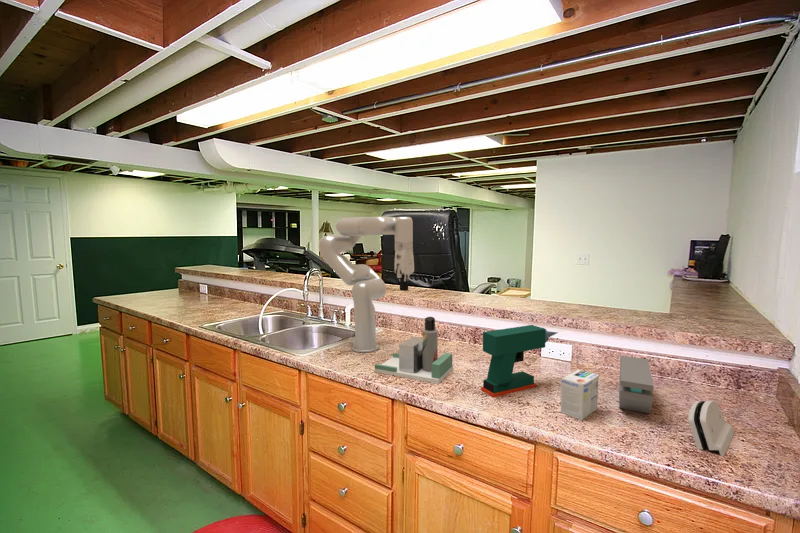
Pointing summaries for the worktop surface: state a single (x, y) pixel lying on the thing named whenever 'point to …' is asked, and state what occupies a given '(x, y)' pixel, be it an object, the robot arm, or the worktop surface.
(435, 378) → the frame
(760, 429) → the worktop surface
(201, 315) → the worktop surface
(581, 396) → the light bulb box
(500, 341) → the power tool
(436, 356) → the lotion bottle
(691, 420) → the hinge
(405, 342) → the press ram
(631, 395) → the gray lidded box
